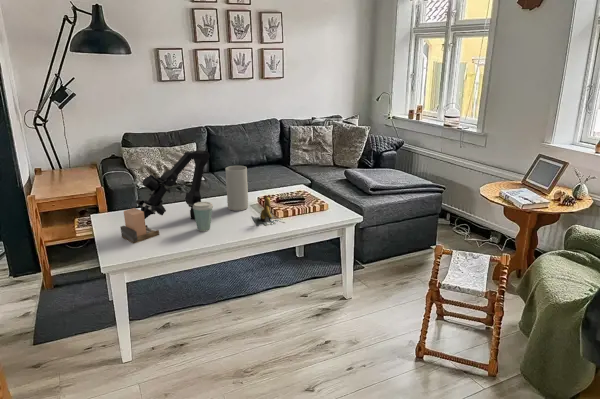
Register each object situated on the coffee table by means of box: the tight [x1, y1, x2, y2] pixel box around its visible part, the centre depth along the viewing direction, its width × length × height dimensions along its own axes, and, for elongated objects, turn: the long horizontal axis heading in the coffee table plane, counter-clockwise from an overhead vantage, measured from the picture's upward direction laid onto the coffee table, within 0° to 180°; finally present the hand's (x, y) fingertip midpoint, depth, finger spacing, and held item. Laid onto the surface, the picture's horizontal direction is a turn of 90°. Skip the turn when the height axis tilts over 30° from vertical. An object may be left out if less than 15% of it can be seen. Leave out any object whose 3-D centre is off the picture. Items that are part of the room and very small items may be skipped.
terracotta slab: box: [123, 207, 146, 237], centre depth 229 cm, size 6×9×12 cm, turn 49°
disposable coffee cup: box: [193, 201, 214, 232], centre depth 240 cm, size 11×11×15 cm
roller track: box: [120, 224, 160, 244], centre depth 233 cm, size 14×12×6 cm
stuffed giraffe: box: [251, 194, 286, 227], centre depth 254 cm, size 16×18×16 cm
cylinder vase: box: [225, 165, 249, 212], centre depth 271 cm, size 12×12×25 cm
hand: (140, 221), depth 232 cm, fingers closed, pressing on terracotta slab
